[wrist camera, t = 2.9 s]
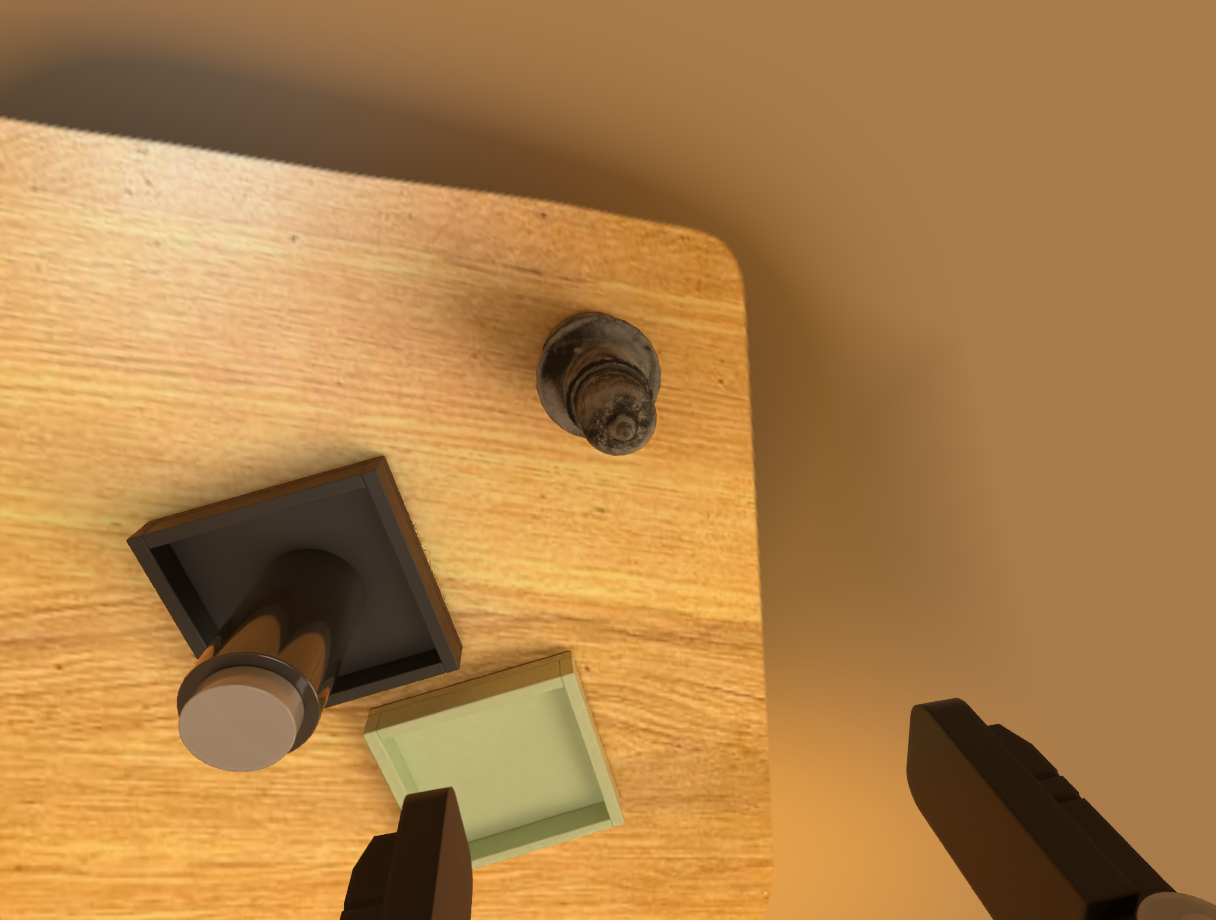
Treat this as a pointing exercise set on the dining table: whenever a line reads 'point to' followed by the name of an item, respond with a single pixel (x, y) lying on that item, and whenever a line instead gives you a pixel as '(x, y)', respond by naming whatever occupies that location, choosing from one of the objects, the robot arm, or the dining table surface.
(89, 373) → the dining table surface
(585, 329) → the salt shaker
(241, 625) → the brown jar with lid
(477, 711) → the light tray
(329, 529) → the dark tray
